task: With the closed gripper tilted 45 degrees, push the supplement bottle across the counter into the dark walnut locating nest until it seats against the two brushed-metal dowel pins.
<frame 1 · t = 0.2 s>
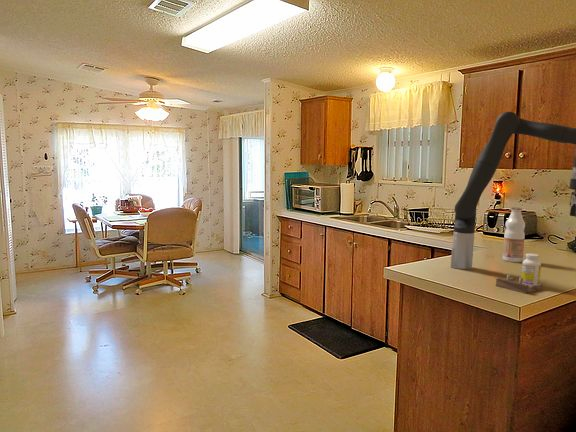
hand: (575, 216, 178), 28 cm above the worktop, tool pointing down, fingers open, 8 cm apart
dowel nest: (513, 288, 167), on the worktop
supplement bottle: (529, 285, 174), on the worktop
fruit juice: (512, 260, 219), on the worktop
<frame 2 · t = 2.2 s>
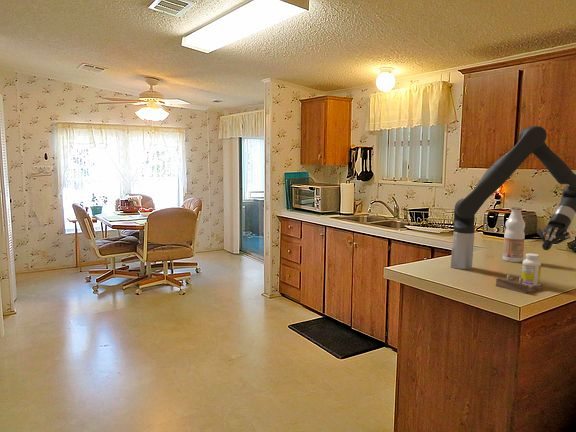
hand: (545, 248, 177), 14 cm above the worktop, tool tilted 45°, fingers closed
nothing on the worktop moved.
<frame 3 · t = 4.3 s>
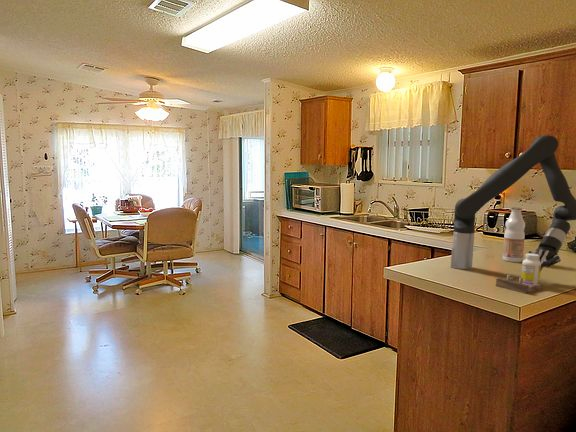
hand: (535, 272, 175), 5 cm above the worktop, tool tilted 45°, fingers closed
supplement bottle: (529, 285, 173), on the worktop, touching gripper
everything else where it was.
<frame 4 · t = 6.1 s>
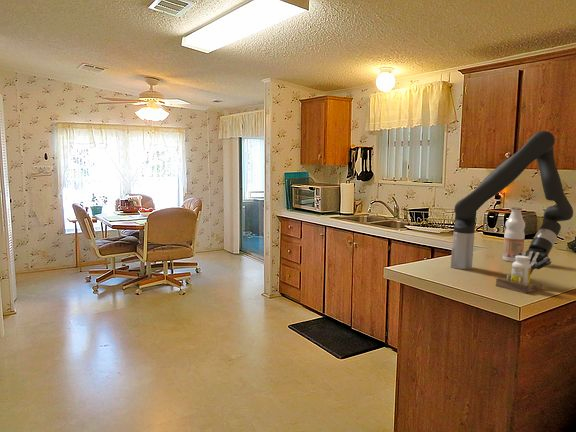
hand: (525, 274, 170), 5 cm above the worktop, tool tilted 45°, fingers closed
supplement bottle: (519, 288, 169), on the worktop, touching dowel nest, gripper
everything else where it was.
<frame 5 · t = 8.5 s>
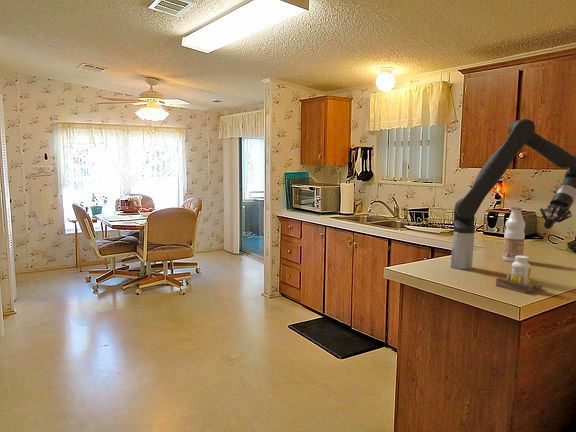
hand: (546, 227, 177), 23 cm above the worktop, tool tilted 45°, fingers closed
supplement bottle: (519, 288, 169), on the worktop
everything else where it was.
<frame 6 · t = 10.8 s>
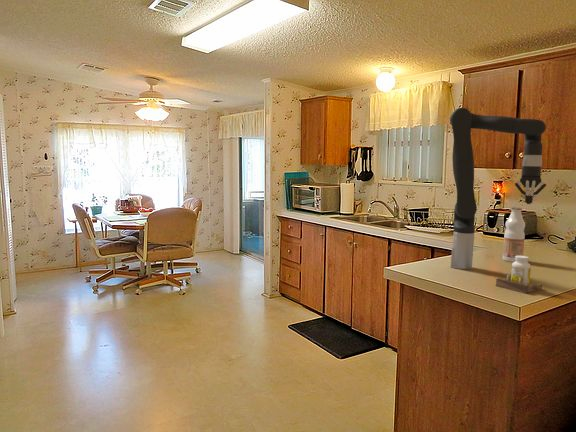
hand: (528, 203, 190), 32 cm above the worktop, tool pointing down, fingers closed
nothing on the worktop moved.
at the end: supplement bottle 0.5 cm from the target spot on the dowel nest, point 0.0 cm above the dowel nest's base; supplement bottle tilted 0° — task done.
